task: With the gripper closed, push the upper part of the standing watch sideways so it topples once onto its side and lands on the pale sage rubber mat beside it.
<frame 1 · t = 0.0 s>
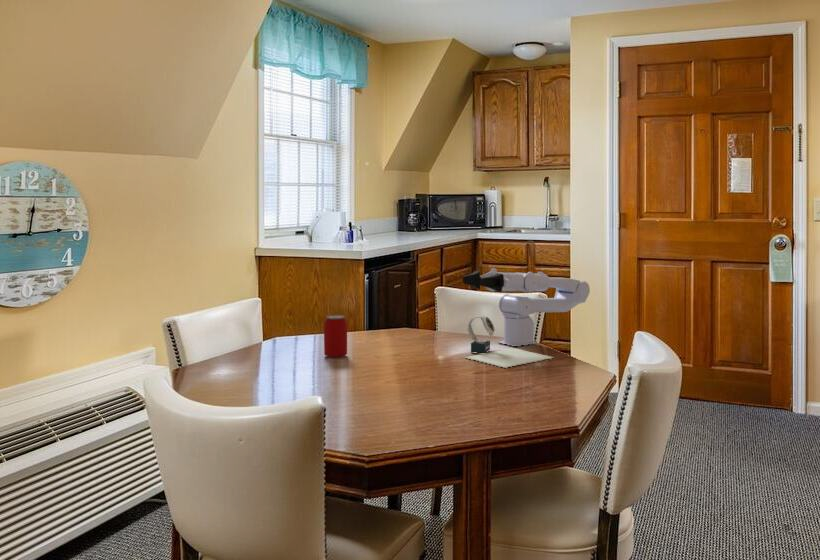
hand: (472, 280, 222), 22 cm above the table, tool horizontal, fingers open, 7 cm apart
watch: (480, 352, 224), on the table
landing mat: (509, 358, 215), on the table
beverage can: (335, 357, 218), on the table
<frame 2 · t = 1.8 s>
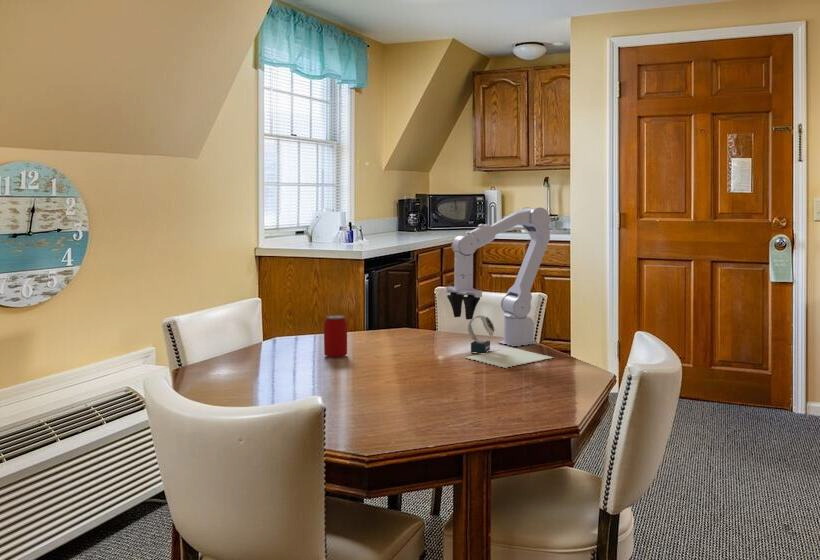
hand: (463, 318, 229), 9 cm above the table, tool pointing down, fingers open, 5 cm apart
nothing on the table moved.
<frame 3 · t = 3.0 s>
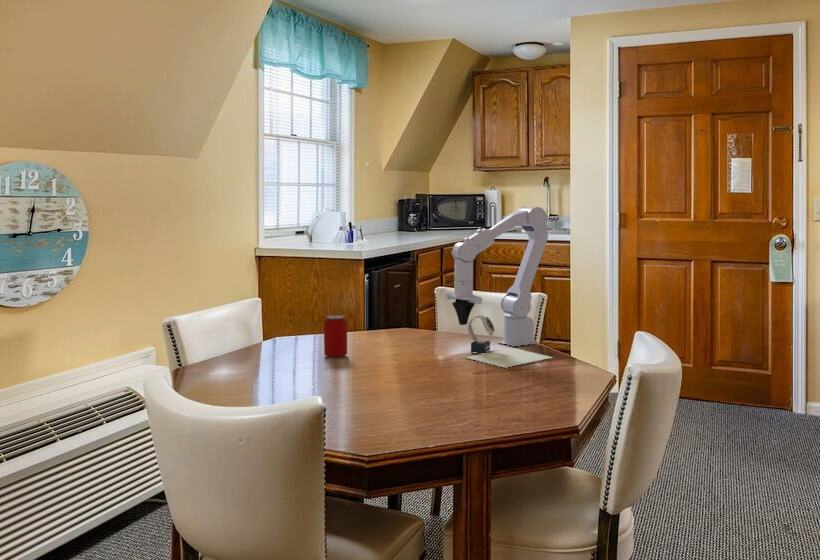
hand: (463, 324, 229), 7 cm above the table, tool pointing down, fingers closed
nothing on the table moved.
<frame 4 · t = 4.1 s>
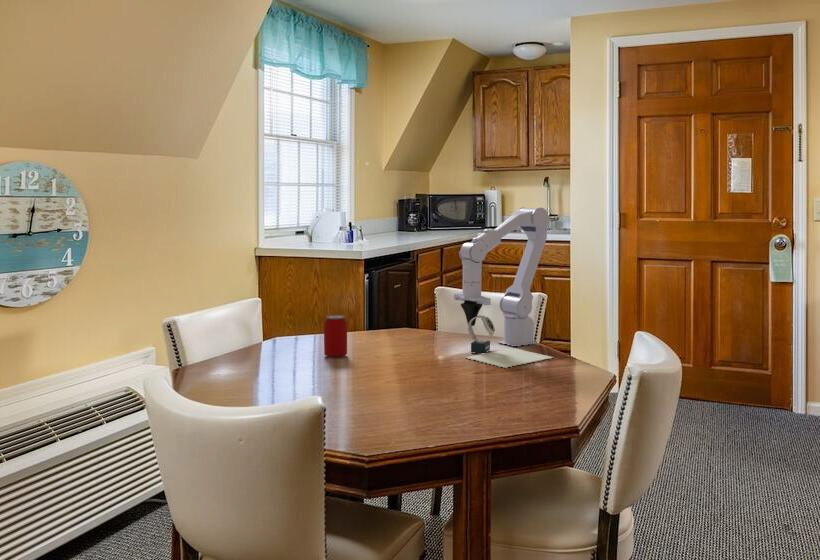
hand: (471, 325, 226), 7 cm above the table, tool pointing down, fingers closed, pressing on watch
watch: (480, 352, 224), on the table, touching gripper
everything else where it was.
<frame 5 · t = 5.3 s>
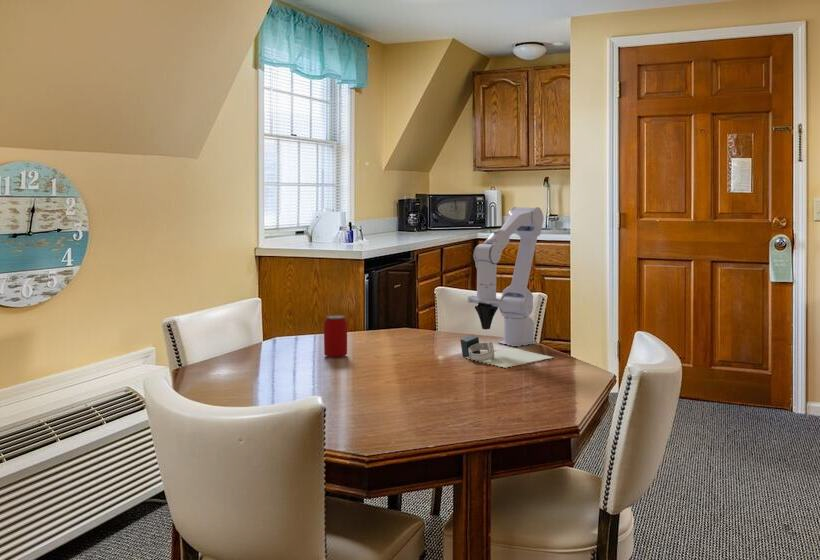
hand: (486, 328, 221), 7 cm above the table, tool pointing down, fingers closed
watch: (467, 344, 218), point 3 cm above the table, touching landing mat
everything else where it was.
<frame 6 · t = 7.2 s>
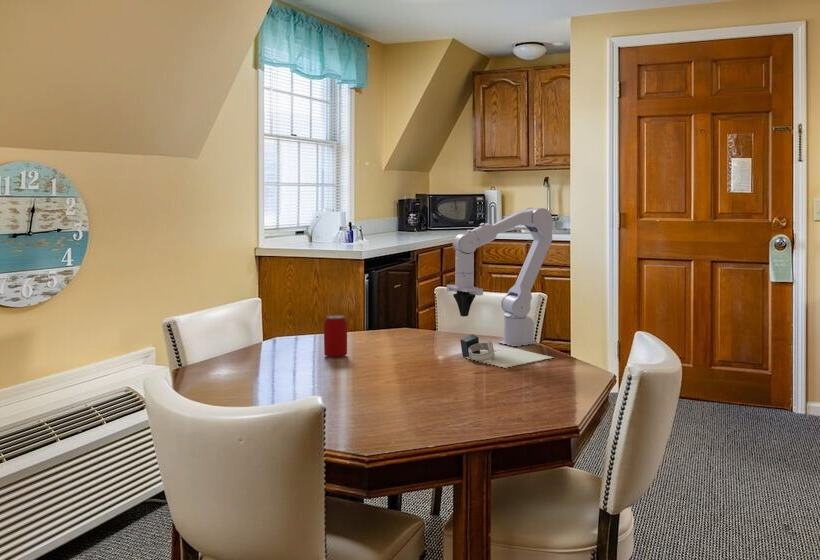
hand: (464, 316, 230), 10 cm above the table, tool pointing down, fingers closed
nothing on the table moved.
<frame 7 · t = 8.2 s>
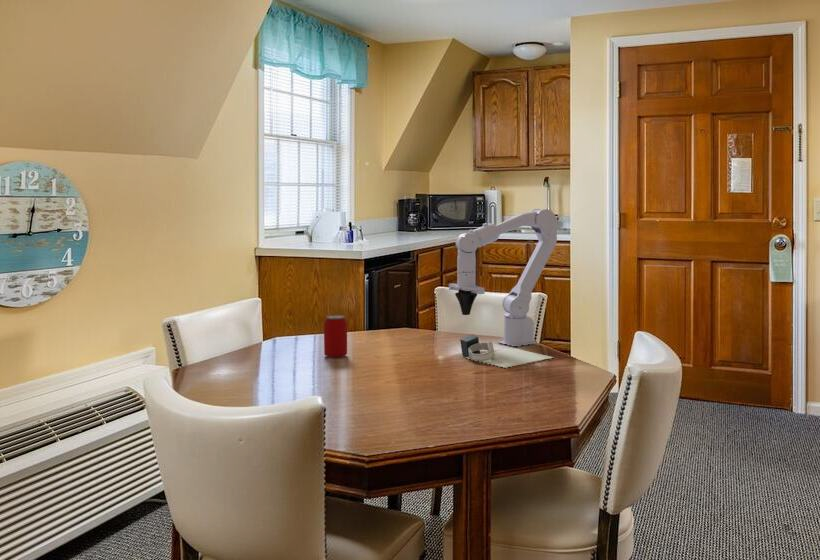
hand: (466, 314, 232), 10 cm above the table, tool pointing down, fingers closed
nothing on the table moved.
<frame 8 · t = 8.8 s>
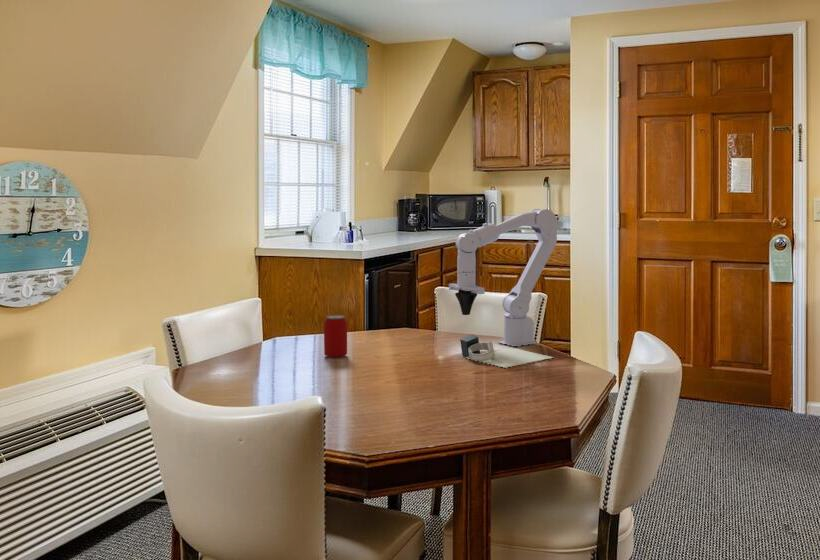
hand: (466, 314, 232), 10 cm above the table, tool pointing down, fingers closed
nothing on the table moved.
at the end: watch tilted 96°; watch inside the target area (10.3 cm from its centre), point 3.3 cm above the table; the gripper is holding nothing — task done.
